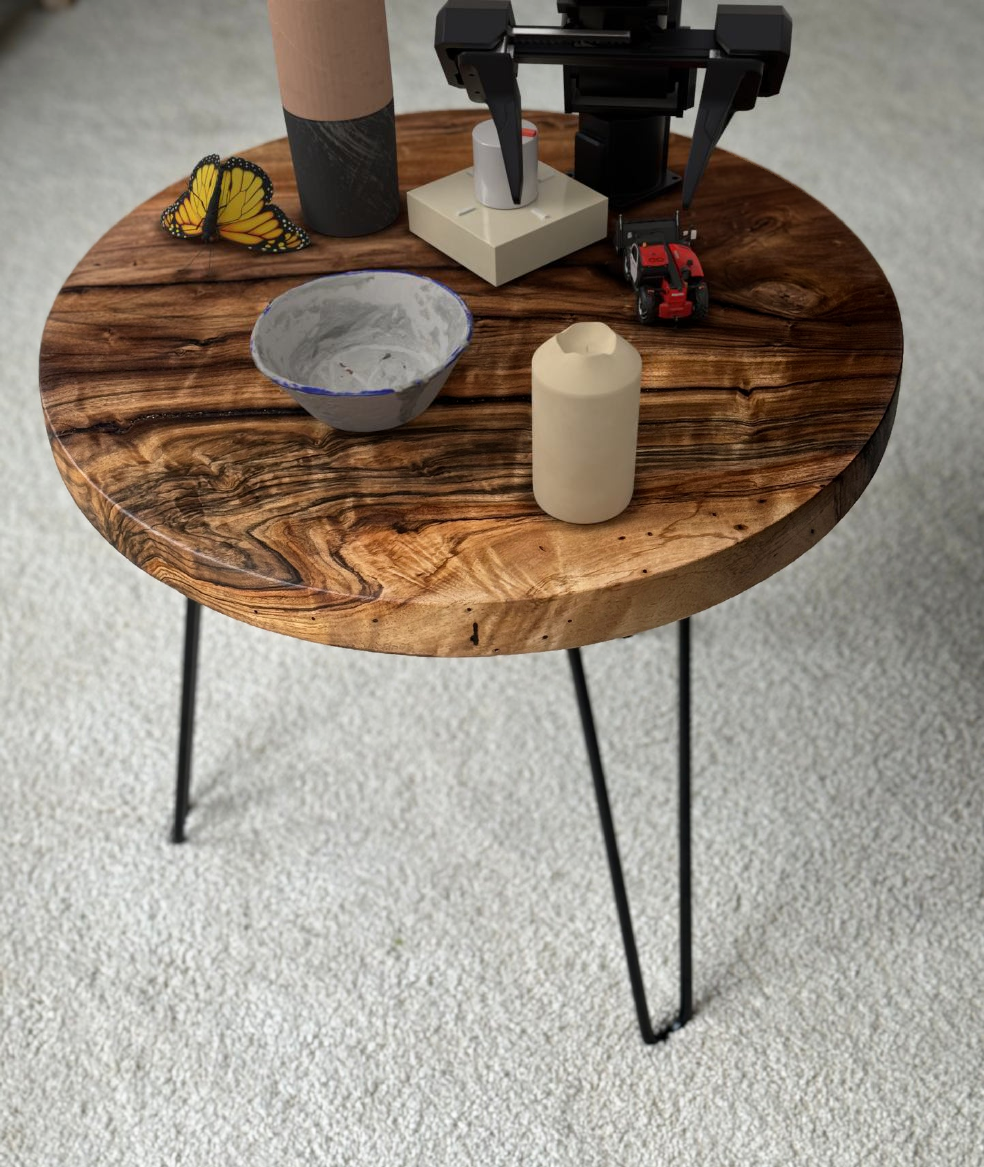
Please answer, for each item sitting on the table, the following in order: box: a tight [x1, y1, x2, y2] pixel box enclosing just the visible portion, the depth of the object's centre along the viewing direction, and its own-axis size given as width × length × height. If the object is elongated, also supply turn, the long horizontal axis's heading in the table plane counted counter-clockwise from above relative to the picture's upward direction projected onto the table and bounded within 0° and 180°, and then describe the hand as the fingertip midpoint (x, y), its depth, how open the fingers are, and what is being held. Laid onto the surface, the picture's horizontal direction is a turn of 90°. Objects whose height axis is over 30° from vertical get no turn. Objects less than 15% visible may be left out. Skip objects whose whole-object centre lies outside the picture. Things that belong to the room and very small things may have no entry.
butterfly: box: [160, 153, 311, 278], centre depth 86 cm, size 12×9×5 cm
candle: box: [531, 321, 643, 525], centre depth 64 cm, size 6×6×10 cm
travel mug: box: [266, 0, 400, 238], centre depth 83 cm, size 8×8×20 cm
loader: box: [612, 210, 709, 325], centre depth 80 cm, size 12×5×5 cm, turn 5°
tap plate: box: [406, 159, 609, 288], centre depth 86 cm, size 10×10×3 cm
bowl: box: [249, 269, 475, 433], centre depth 73 cm, size 13×13×5 cm
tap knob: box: [471, 118, 539, 209], centre depth 84 cm, size 4×4×5 cm
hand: (600, 205), depth 67 cm, fingers open, 9 cm apart
